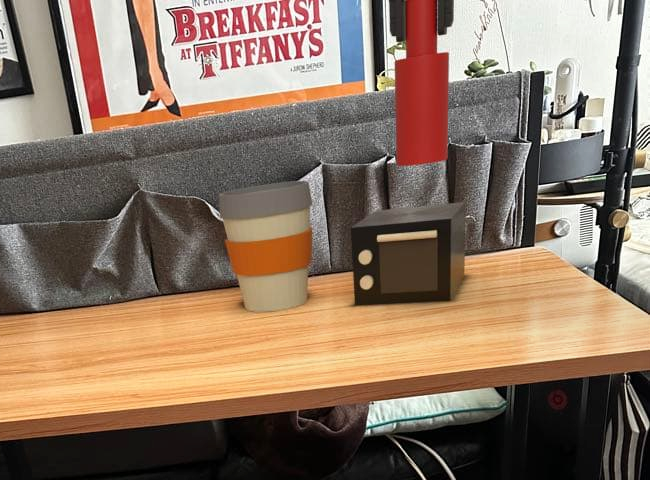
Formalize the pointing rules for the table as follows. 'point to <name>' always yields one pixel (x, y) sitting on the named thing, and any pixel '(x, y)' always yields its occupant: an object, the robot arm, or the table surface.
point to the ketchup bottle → (421, 90)
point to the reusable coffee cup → (269, 243)
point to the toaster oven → (409, 254)
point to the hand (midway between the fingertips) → (421, 37)
